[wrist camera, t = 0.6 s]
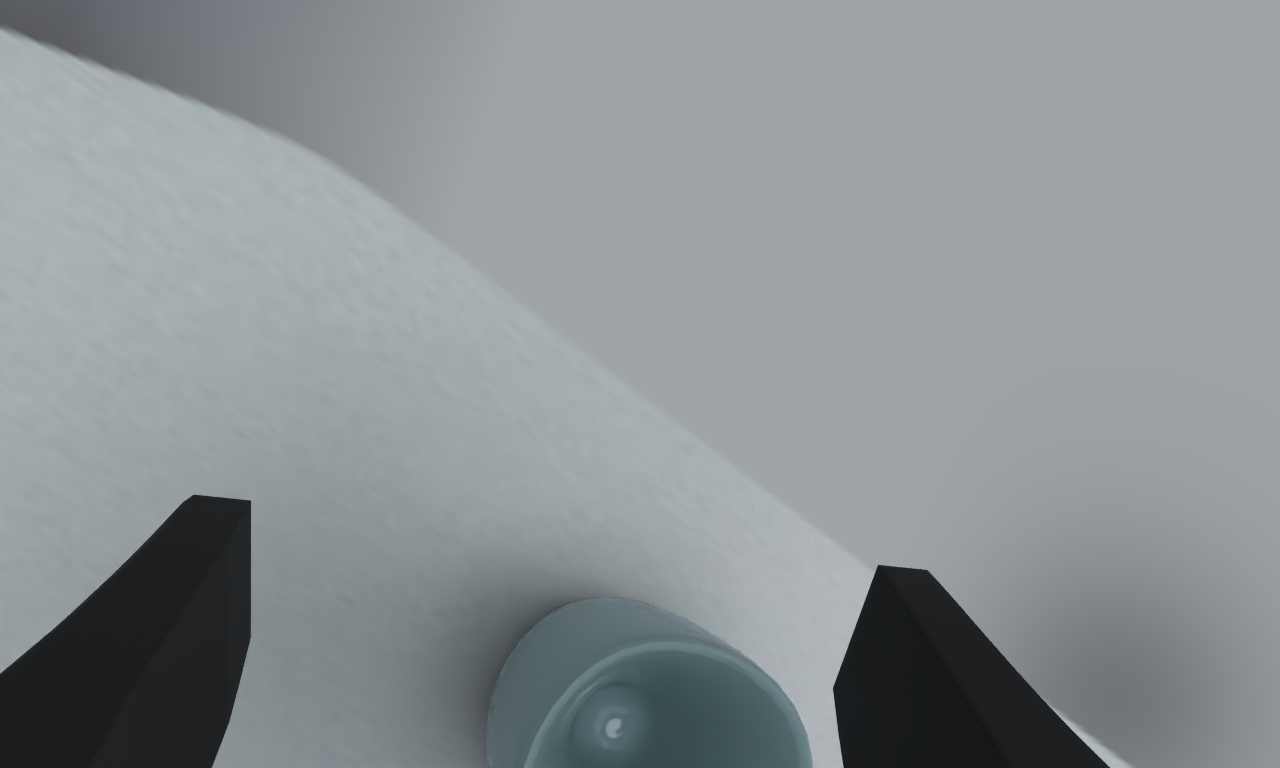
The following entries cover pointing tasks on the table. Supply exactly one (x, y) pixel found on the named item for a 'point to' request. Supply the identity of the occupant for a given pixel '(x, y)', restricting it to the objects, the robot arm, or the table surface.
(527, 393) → the table surface
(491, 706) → the cup
